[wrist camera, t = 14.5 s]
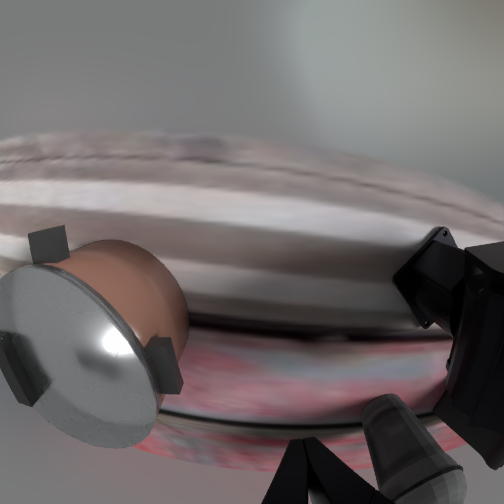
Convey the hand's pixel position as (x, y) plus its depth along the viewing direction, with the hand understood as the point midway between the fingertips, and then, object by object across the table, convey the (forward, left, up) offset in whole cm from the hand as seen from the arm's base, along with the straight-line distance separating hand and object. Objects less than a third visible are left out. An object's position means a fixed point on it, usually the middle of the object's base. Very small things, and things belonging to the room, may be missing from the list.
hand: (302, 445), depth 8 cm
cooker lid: (-7, -10, -5) cm, 14 cm away
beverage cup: (+17, 0, -13) cm, 22 cm away
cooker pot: (-7, -10, -13) cm, 18 cm away
